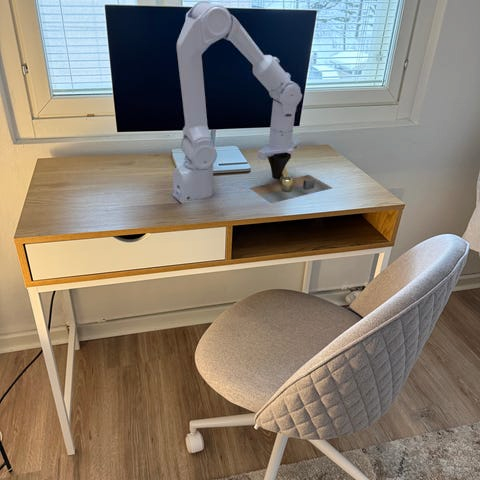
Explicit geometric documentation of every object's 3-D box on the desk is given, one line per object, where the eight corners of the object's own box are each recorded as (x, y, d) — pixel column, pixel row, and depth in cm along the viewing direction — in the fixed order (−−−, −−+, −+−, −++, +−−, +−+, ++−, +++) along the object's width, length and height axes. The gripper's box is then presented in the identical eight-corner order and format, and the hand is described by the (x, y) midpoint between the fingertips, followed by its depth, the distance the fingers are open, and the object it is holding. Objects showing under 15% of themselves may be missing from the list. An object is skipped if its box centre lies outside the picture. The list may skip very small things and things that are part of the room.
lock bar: (292, 191, 119) (293, 180, 117) (282, 191, 119) (283, 179, 117) (286, 176, 127) (287, 166, 125) (276, 176, 127) (277, 166, 125)
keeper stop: (305, 189, 121) (306, 181, 119) (302, 188, 121) (303, 179, 120) (314, 187, 122) (315, 179, 121) (311, 186, 123) (312, 177, 122)
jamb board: (271, 207, 114) (271, 203, 113) (249, 192, 121) (249, 187, 120) (332, 192, 123) (333, 187, 122) (308, 178, 130) (309, 174, 130)
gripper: (275, 138, 110) (269, 190, 117) (311, 128, 119) (304, 176, 126) (253, 131, 114) (249, 181, 121) (290, 121, 123) (284, 169, 130)
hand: (276, 178), depth 124 cm, fingers closed, pressing on lock bar
